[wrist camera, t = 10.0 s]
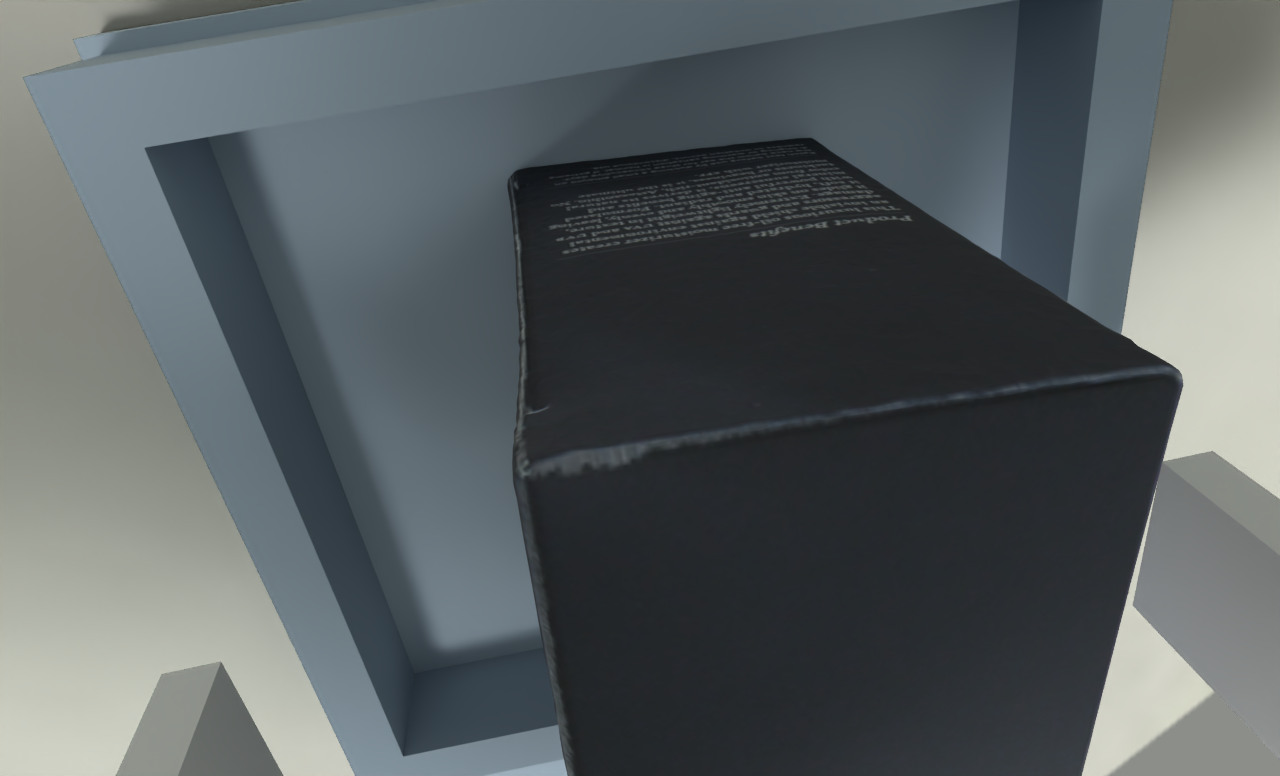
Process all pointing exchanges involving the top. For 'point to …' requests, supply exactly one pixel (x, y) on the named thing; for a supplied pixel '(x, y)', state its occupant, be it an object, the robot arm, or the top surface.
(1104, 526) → the small box
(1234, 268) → the top surface
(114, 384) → the top surface
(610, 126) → the chassis
